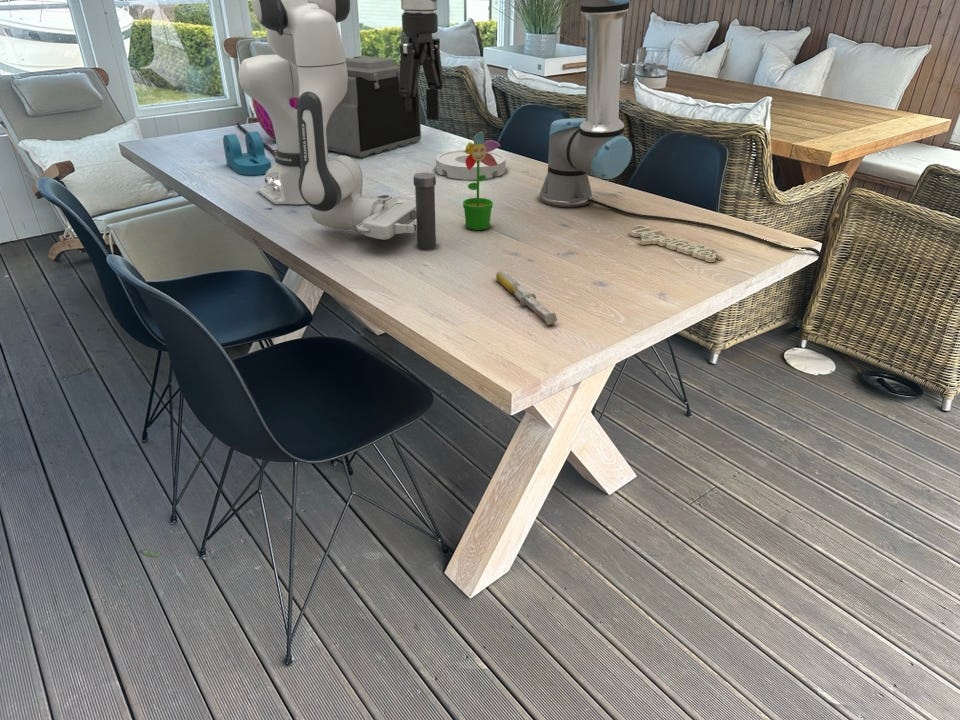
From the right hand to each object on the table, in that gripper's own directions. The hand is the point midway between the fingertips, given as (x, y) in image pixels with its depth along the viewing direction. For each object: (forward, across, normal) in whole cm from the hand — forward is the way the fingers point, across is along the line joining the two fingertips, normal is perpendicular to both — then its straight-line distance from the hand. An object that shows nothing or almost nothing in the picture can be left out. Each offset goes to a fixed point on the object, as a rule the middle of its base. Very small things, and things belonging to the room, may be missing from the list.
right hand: (422, 123), depth 155 cm
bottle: (+29, 0, 0) cm, 29 cm away
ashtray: (+29, +68, +19) cm, 77 cm away
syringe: (+29, -19, -33) cm, 48 cm away
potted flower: (+29, +19, -6) cm, 35 cm away
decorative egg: (+29, +76, +102) cm, 130 cm away
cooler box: (+29, +83, +67) cm, 110 cm away
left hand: (+23, 0, +1) cm, 23 cm away
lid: (+12, 0, 0) cm, 12 cm away
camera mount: (+29, +38, +86) cm, 98 cm away
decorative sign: (+29, +27, -55) cm, 68 cm away
